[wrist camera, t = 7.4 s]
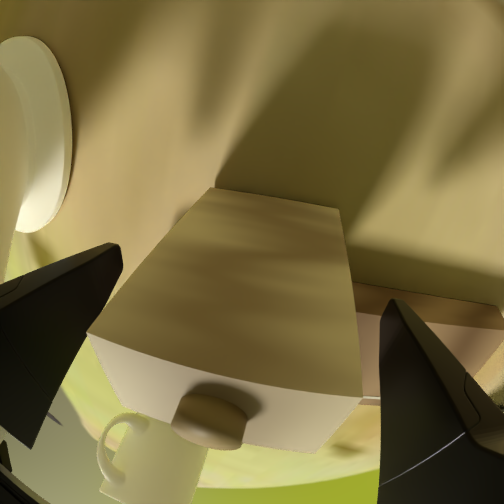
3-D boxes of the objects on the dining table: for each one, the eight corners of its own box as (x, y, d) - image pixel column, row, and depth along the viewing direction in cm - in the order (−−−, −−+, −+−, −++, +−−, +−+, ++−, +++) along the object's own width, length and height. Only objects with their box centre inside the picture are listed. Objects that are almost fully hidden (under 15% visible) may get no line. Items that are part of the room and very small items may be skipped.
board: (496, 306, 11) (510, 331, 10) (440, 382, 15) (445, 405, 13) (165, 246, 13) (145, 270, 12) (175, 342, 17) (163, 367, 15)
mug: (160, 389, 21) (112, 498, 12) (225, 446, 26) (201, 529, 17) (100, 384, 24) (55, 465, 15) (165, 439, 29) (138, 509, 20)
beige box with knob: (338, 209, 11) (363, 428, 4) (292, 366, 16) (269, 504, 9) (210, 187, 11) (69, 355, 4) (208, 349, 16) (158, 478, 9)
